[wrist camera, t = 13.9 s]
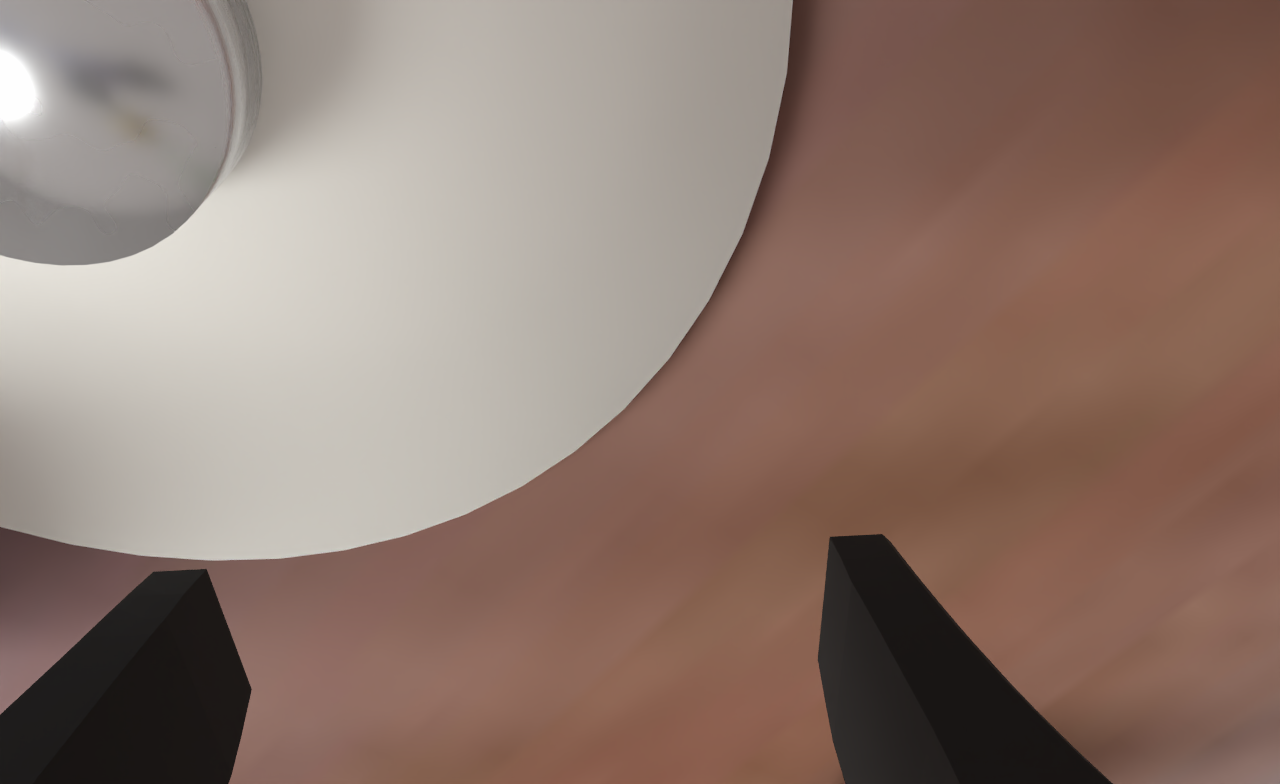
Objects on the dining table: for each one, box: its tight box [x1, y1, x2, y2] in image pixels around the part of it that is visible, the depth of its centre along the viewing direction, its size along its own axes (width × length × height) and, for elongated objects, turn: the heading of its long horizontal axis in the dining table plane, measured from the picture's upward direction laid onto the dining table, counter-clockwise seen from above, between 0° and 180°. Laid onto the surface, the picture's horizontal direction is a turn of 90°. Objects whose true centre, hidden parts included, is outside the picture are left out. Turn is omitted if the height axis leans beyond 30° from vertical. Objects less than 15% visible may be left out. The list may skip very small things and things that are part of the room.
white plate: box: [0, 0, 793, 561], centre depth 17 cm, size 25×25×1 cm
